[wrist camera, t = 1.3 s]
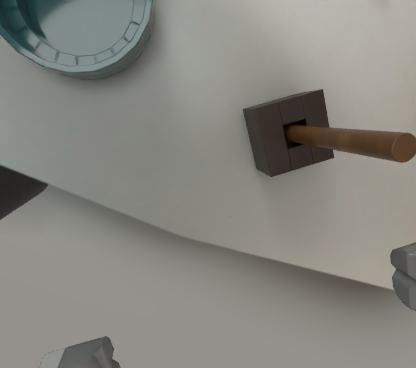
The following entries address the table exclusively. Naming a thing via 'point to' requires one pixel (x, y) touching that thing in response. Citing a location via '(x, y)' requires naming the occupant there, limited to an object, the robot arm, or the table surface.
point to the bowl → (78, 33)
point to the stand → (275, 138)
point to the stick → (356, 141)
